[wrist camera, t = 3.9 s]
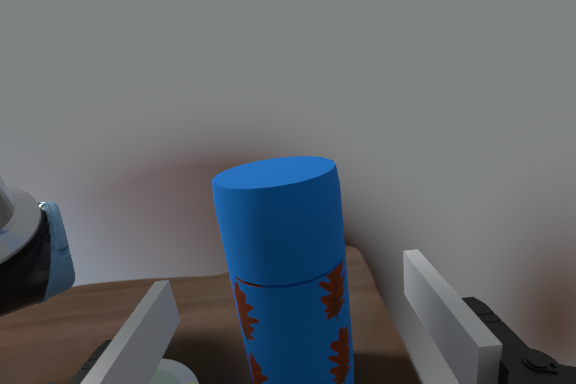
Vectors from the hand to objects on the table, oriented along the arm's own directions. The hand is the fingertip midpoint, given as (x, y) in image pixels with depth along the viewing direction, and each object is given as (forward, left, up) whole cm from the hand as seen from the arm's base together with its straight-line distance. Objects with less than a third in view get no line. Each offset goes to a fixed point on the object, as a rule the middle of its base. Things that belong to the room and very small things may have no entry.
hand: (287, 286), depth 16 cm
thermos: (-9, +5, -21) cm, 23 cm away
